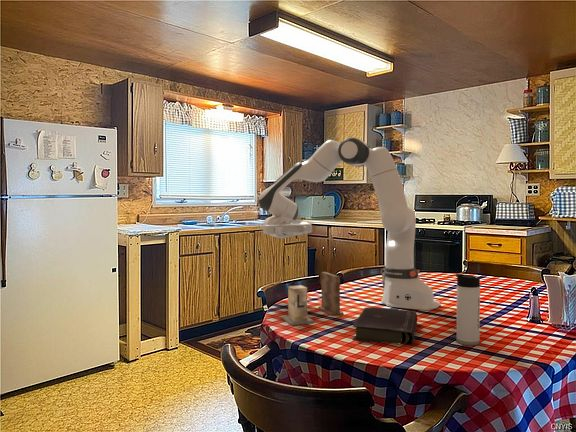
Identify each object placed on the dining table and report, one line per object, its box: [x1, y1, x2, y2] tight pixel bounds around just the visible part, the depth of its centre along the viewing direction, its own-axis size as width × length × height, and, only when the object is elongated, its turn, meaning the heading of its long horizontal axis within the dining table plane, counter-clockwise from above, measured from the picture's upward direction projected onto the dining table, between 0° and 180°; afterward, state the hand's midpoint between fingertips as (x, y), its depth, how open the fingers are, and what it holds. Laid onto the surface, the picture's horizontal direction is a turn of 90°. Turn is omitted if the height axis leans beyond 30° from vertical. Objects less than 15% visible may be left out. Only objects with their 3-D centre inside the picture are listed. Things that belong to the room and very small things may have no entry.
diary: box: [352, 306, 418, 346], centre depth 146 cm, size 19×25×5 cm
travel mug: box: [455, 273, 481, 346], centre depth 133 cm, size 6×7×20 cm
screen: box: [317, 271, 344, 317], centre depth 171 cm, size 12×4×14 cm, turn 21°
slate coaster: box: [282, 316, 314, 326], centre depth 158 cm, size 8×8×1 cm
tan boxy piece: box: [287, 285, 308, 321], centre depth 158 cm, size 5×5×11 cm
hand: (294, 229), depth 180 cm, fingers open, 8 cm apart
